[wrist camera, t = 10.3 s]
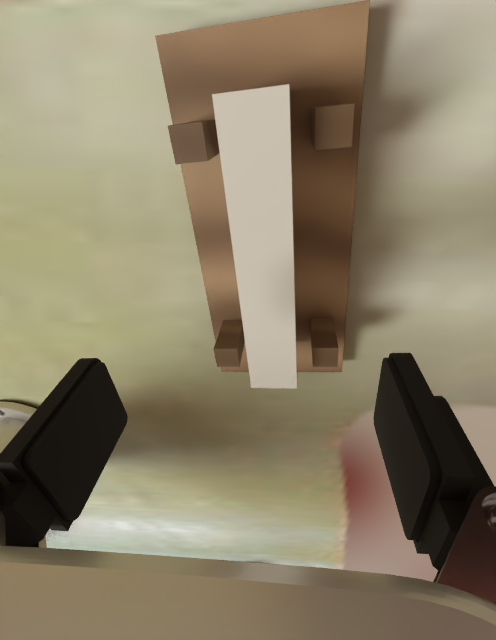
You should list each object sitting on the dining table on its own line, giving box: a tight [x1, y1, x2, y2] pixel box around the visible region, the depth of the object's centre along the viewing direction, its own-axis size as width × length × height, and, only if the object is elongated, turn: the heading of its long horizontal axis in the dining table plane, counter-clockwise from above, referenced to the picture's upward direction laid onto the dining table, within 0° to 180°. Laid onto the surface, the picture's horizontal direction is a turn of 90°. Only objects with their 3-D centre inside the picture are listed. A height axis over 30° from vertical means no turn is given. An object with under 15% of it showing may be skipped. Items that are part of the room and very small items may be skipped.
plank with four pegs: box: [155, 0, 370, 372], centre depth 20 cm, size 22×10×5 cm, turn 6°
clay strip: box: [212, 84, 297, 388], centre depth 19 cm, size 16×3×5 cm, turn 6°
